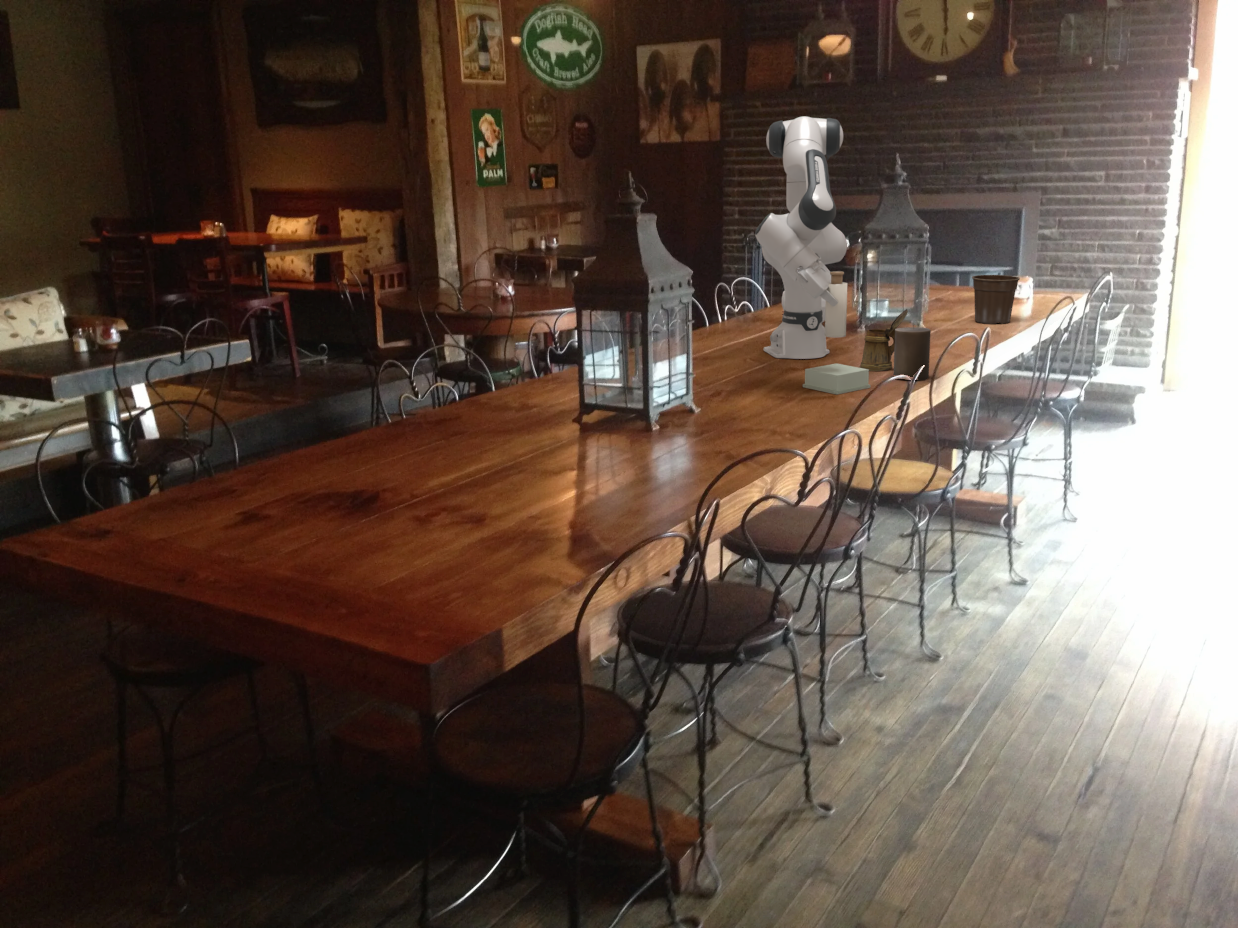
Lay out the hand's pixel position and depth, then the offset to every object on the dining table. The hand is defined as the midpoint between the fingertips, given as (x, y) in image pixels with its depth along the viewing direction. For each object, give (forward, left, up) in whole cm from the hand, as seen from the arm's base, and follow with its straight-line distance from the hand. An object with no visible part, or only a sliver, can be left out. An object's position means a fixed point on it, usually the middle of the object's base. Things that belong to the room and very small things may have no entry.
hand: (838, 302), depth 299 cm
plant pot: (-72, +107, -23) cm, 131 cm away
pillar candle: (-2, +25, -23) cm, 34 cm away
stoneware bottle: (0, 0, -9) cm, 9 cm away
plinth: (0, 0, -23) cm, 23 cm away
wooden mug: (-16, +25, -23) cm, 38 cm away
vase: (-99, +46, -23) cm, 112 cm away
